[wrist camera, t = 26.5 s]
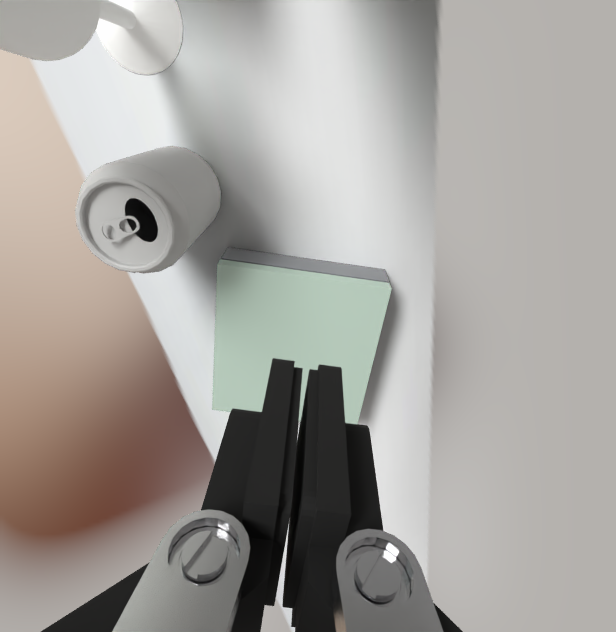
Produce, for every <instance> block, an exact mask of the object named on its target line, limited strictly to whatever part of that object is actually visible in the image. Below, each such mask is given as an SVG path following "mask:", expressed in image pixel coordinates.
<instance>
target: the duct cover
mask: <svg viewBox="0 0 616 632" xmlns="http://www.w3.org/2000/svg"><path fill="white" fill-rule="evenodd" d="M391 290H392V288H391V285H390V283H386V282H379V281H372V280H365V279H357V278H350V277H343V276H336V275H329V274H322V273H315V272H308V271H300V270H293V269H286V268H279V267H272V266H265V265H258V264H251V263H244V262H236V261H229V260H222V259H220V261H219V262H218V264H217V285H216V314H215V343H214V372H213V401H212V410H218V411H226V412H231V410H232V409H233V408H234V409H241V410H249V411H257V412H262V409H263V404H264V399H265V394H266V389H267V384H268V379H269V374H270V369H271V364H272V359H273V358H276V359H283V360H291V361H295V363H294V367H298V368H303V371H302V384H301V396H300V409H299V421H301V416H302V410H303V404H304V398H305V392H306V386H307V380H308V374H309V370H310V369H313V370H318V366H319V364H321V365H328V366H336V367H341V368H342V381H343V397H344V412H345V423H350V424H358V420H359V416H360V412H361V408H362V404H363V400H364V396H365V392H366V388H367V384H368V381H369V377H370V373H371V369H372V365H373V361H374V357H375V353H376V349H377V345H378V341H379V337H380V333H381V329H382V325H383V321H384V317H385V313H386V309H387V306H388V302H389V298H390V294H391Z"/></svg>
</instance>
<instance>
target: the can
mask: <svg viewBox="0 0 616 632" xmlns="http://www.w3.org/2000/svg"><path fill="white" fill-rule="evenodd" d="M220 203H221V190H220V186H219V182H218V179H217V177H216V175H215V173H214V172H213V170H212V168H211V166H210V165H209V164H208V163H207V162H206V161H205V160H204V159H203V158H202V157H201V156H199V155H197V154H196V153H194V152H192V151H190V150H188V149H186V148H181V147H175V146H168V147H162V148H157V149H154V150H150V151H147V152H144V153H140V154H137V155H134V156H130V157H127V158H124V159H120V160H117V161H114V162H110V163H107V164H105V165H103V166H101V167H99V168H98V169H96V170H94V171H93V172H91V173H90V175H89V176H88V177H87V179H86V180H85V181H84V183H83V184H82V185H81V189H80V193H79V197H78V201H77V205H76V209H75V214H76V224H77V228H78V230H79V233H80V235H81V238H82V240H83V241H84V243H85V244H86V245H87V247H88V248H89V249H90V251H91V252H92V253H93V254H94V255H95V256H97V257H98V258H99V259H100V260H101V261H103V262H104V263H105V264H107V265H109V266H112V267H114V268H116V269H118V270H122V271H127V272H133V273H135V272H139V273H151V272H159V271H162V270H164V269H166V268H168V267H170V266H172V265H174V263H175V262H176V261H177V260H178V259H179V258H180V257H181V256H182V255H183V254H184V253H185V252H186V251H187V249H188V248H189V247H190V246H191V245H192V244H193V243H194V242H195V241H196V239H197V238H198V237H199V236H200V235H201V234H202V233H203V232H204V231H205V229H206V228H207V227H208V226H209V225H210V224H211V223H212V222H213V221H214V219H215V218H216V216H217V213H218V211H219V209H220Z"/></svg>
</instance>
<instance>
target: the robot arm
mask: <svg viewBox="0 0 616 632" xmlns="http://www.w3.org/2000/svg"><path fill="white" fill-rule="evenodd" d="M294 363H295V361H291V360H283V359H276V358H273V359H272V364H271V369H270V374H269V379H268V384H267V389H266V394H265V399H264V404H263V409H262V412H257V411H249V410H241V409H234V408H233V409H232V410H231V413H230V416H229V419H228V422H227V426H226V429H225V432H224V436H223V439H222V442H221V446H220V449H219V452H218V456H217V459H216V462H215V466H214V469H213V472H212V475H211V479H210V482H209V485H208V489H207V493H206V495H205V499H204V502H203V505H202V509H201V511H196V512H193V513H191V514H189V515H187V516H184V517H182V518H181V519H180V520H178V521H177V522H176V523H175V524H173V525H172V526H171V527H170V529H169V530H168V532H167V533H166V534H165V536H164V537H163V538H162V540H161V542H160V544H159V546H158V548H157V549H156V551H155V553H154V555H153V557H152V559H151V561H150V562H149V563H148V564H146V565H145V566H143V567H142V568H140V569H139V570H137V571H135V572H134V573H132V574H131V575H129V576H128V577H126V578H124V579H123V580H121V581H120V582H118V583H117V584H115V585H114V586H112V587H110V588H109V589H107V590H106V591H104V592H103V593H101V594H99V595H98V596H96V597H95V598H93V599H91V600H90V601H88V602H87V603H85V604H84V605H82V606H80V607H79V608H77V609H76V610H74V611H73V612H71V613H69V614H68V615H66V616H65V617H63V618H62V619H60V620H59V621H57V622H55V623H54V624H52V625H51V626H49V627H48V628H46V629H44V630H43V631H41V632H260V630H261V624H262V617H263V610H264V605H270V606H274V603H275V598H276V592H277V586H278V581H279V575H280V569H281V564H282V558H283V552H284V547H285V541H286V535H287V530H288V524H289V532H288V545H287V557H286V569H285V581H284V593H283V607H287V608H293V609H292V625H291V627H295V632H462V631H461V630H460V629H459V628H458V627H457V626H456V625H455V624H454V623H453V622H452V621H451V620H450V619H449V618H448V617H447V616H446V615H445V614H444V613H443V612H442V611H441V610H440V609H439V608H438V607H437V606H436V605H435V604H434V603H433V600H432V598H431V595H430V592H429V589H428V586H427V583H426V580H425V577H424V575H423V572H422V569H421V567H420V565H419V563H418V561H417V559H416V557H415V555H414V554H413V552H412V551H411V550H410V549H409V548H408V547H407V545H406V544H405V543H403V542H402V541H401V540H399V539H398V538H397V537H395V536H394V535H391V534H389V533H387V532H384V531H383V525H382V518H381V511H380V504H379V496H378V489H377V482H376V474H375V467H374V460H373V453H372V445H371V438H370V432H369V428H368V426H366V425H358V424H350V423H345V412H344V397H343V381H342V368H341V367H336V366H328V365H321V364H319V366H318V370H313V369H310V370H309V374H308V380H307V386H306V392H305V398H304V404H303V410H302V416H301V422H300V428H299V434H298V421H299V409H300V396H301V384H302V371H303V368H298V367H294ZM297 434H298V440H297ZM289 518H290V520H289Z"/></svg>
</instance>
